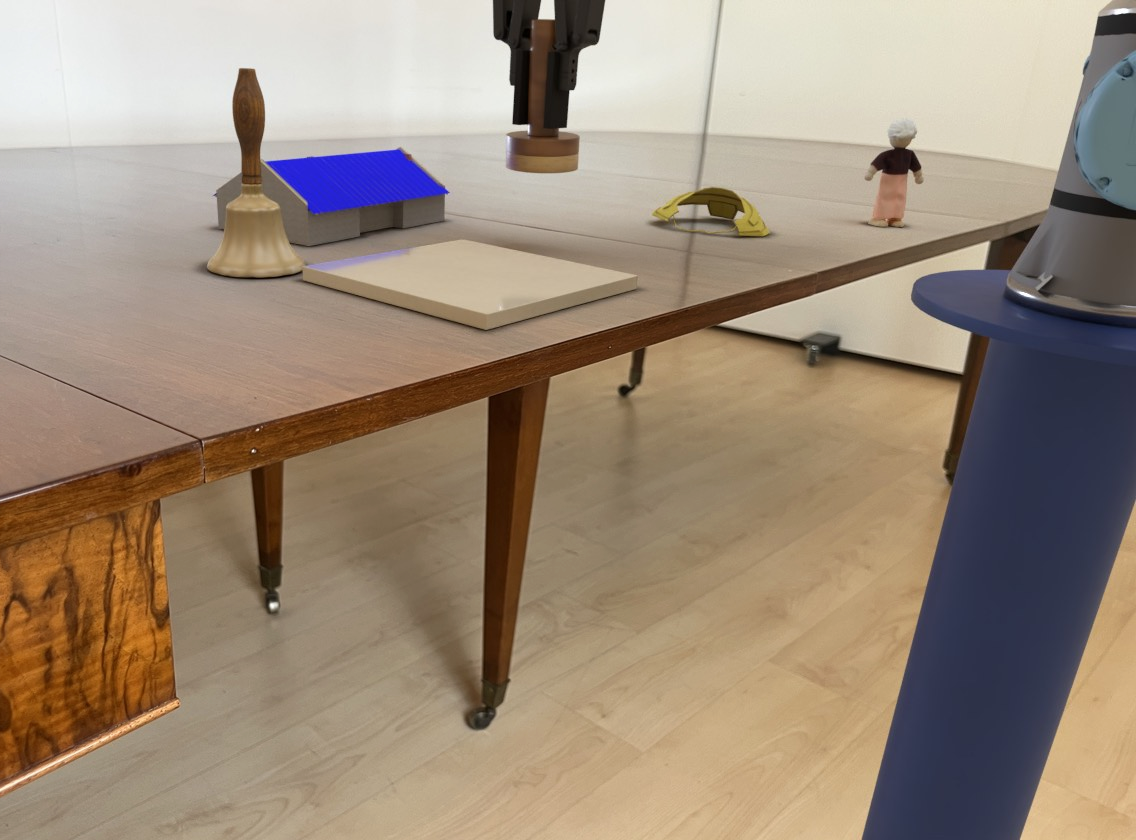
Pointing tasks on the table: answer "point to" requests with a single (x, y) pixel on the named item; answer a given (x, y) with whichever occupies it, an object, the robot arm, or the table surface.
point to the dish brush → (541, 117)
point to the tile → (471, 281)
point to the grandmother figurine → (894, 174)
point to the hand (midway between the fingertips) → (539, 125)
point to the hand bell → (252, 200)
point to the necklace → (718, 210)
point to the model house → (345, 194)
